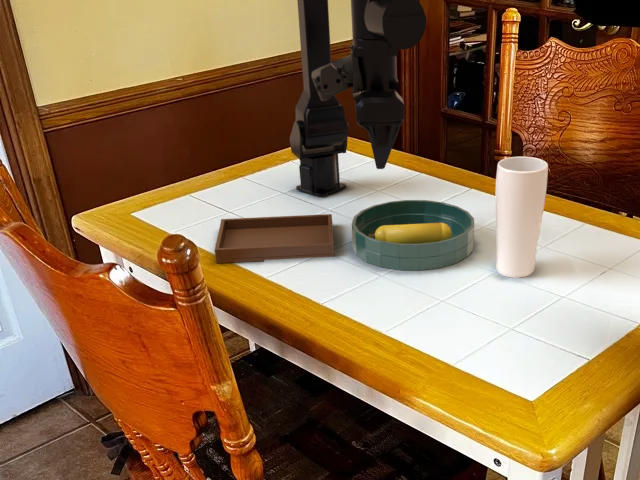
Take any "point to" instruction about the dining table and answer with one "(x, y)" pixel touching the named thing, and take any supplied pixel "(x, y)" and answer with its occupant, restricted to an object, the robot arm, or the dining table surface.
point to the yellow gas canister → (413, 233)
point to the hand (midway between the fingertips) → (378, 158)
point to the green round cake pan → (413, 253)
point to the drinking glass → (519, 213)
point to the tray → (274, 238)
